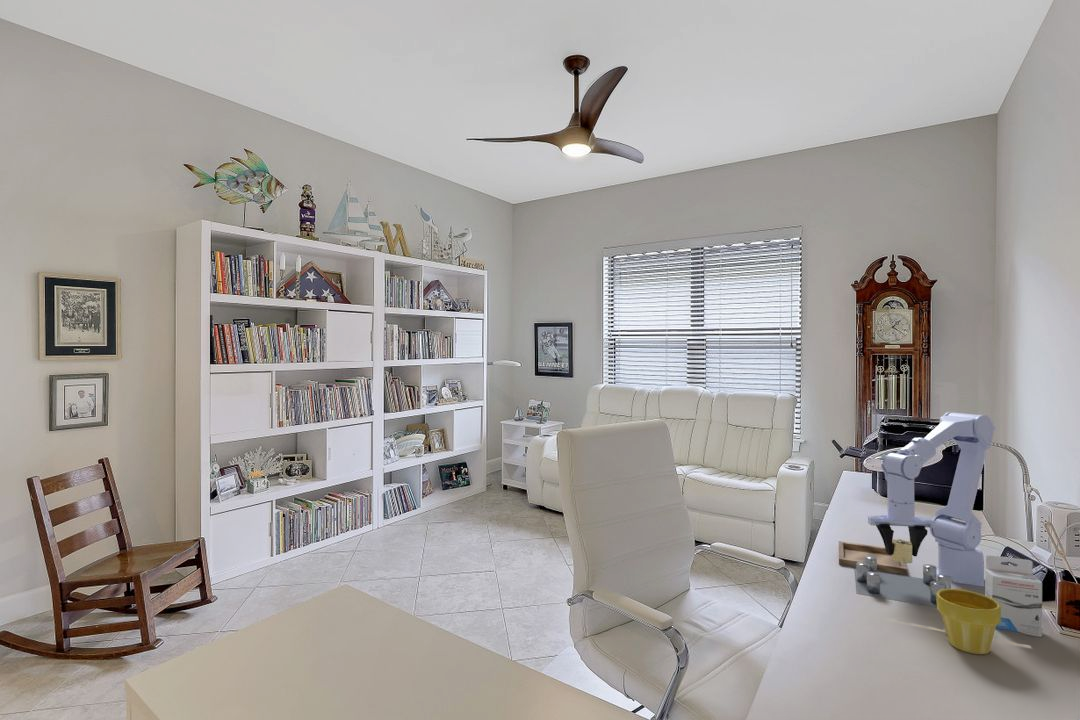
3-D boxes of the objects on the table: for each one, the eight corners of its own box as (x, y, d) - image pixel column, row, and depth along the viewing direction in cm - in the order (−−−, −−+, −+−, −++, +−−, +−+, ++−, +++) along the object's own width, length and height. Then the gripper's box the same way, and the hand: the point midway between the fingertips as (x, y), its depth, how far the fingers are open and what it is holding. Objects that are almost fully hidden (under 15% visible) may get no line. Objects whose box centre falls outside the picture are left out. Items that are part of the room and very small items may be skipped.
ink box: (992, 629, 117) (991, 562, 117) (984, 619, 121) (984, 554, 121) (1043, 638, 113) (1042, 568, 113) (1033, 627, 118) (1033, 559, 118)
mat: (945, 583, 140) (945, 582, 140) (960, 613, 124) (960, 611, 124) (854, 569, 150) (854, 567, 150) (856, 595, 134) (856, 593, 134)
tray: (900, 556, 159) (900, 549, 159) (907, 576, 145) (906, 568, 145) (838, 547, 166) (838, 541, 166) (838, 566, 152) (838, 558, 152)
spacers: (945, 584, 139) (945, 566, 139) (957, 608, 126) (956, 589, 126) (855, 570, 148) (855, 553, 148) (857, 591, 135) (857, 573, 135)
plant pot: (938, 627, 118) (938, 583, 118) (1000, 643, 111) (1000, 596, 111) (935, 648, 110) (934, 600, 110) (1001, 666, 103) (1001, 615, 103)
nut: (910, 557, 138) (910, 540, 138) (912, 564, 134) (912, 546, 134) (890, 554, 140) (890, 537, 140) (891, 561, 136) (891, 543, 136)
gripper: (925, 498, 139) (925, 550, 140) (863, 495, 143) (863, 546, 143) (939, 505, 132) (939, 560, 133) (873, 503, 136) (874, 556, 136)
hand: (901, 554), depth 137 cm, fingers closed on nut, 5 cm apart
